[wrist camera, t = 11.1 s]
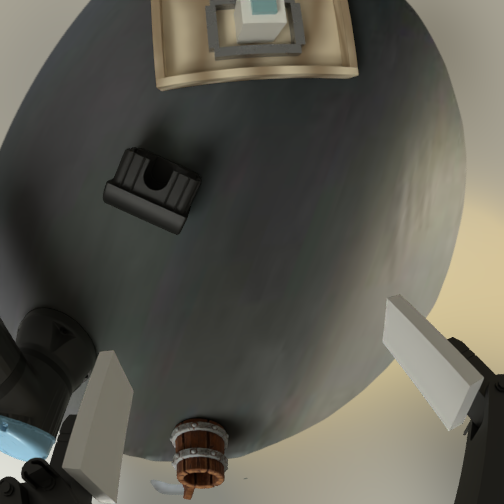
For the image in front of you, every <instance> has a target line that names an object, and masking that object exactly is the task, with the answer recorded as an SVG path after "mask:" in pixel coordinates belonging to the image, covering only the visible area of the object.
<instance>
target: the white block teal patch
mask: <svg viewBox="0 0 504 504" xmlns="http://www.w3.org/2000/svg"><path fill="white" fill-rule="evenodd" d="M234 21H235V31H236V40H237V44H247V43H271V42H273V41H274V40H275V38H276V37H277V36H278V34H279V33H280V31H281V30H282V29H283V27H284V26H285V25H286V23H287V19H286V12H285V5H284V0H237V1H236V6H235V11H234Z"/></svg>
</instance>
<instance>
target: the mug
mask: <svg viewBox="0 0 504 504" xmlns="http://www.w3.org/2000/svg"><path fill="white" fill-rule="evenodd" d="M228 437H229V435H228V434H227V433H226V431H225V430H224V428H223V427H222V426H221V425H220V424H218V423H217V422H214V421H211V420H209V421H207V419H200V418H197V419H189V420H185V421H184V423H183V422H181V423H179V424H178V425H176V427H175V429H174V430H173V432H172V437H171V438H170V440H171V441H172V444H173V446H174V447H175V448H176V454H175V455H174V457H173V462H172V465H173V466H174V469H175V470H176V471H177V479H178V481H179V482H180V483H182V484H183V487H184V496H183V498H184V499H189V500H190V499H191V498H192V495H193V492H194V489H195V488H200V489H203V488H212V487H214V485H215V486H218V485H220V484H222V483H223V482H224V472H225V471H226V470H227V469H228V467H227V466H228V459H227V458H226V457H225V455H224V450H225V449H226V448H227V447H228Z"/></svg>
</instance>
